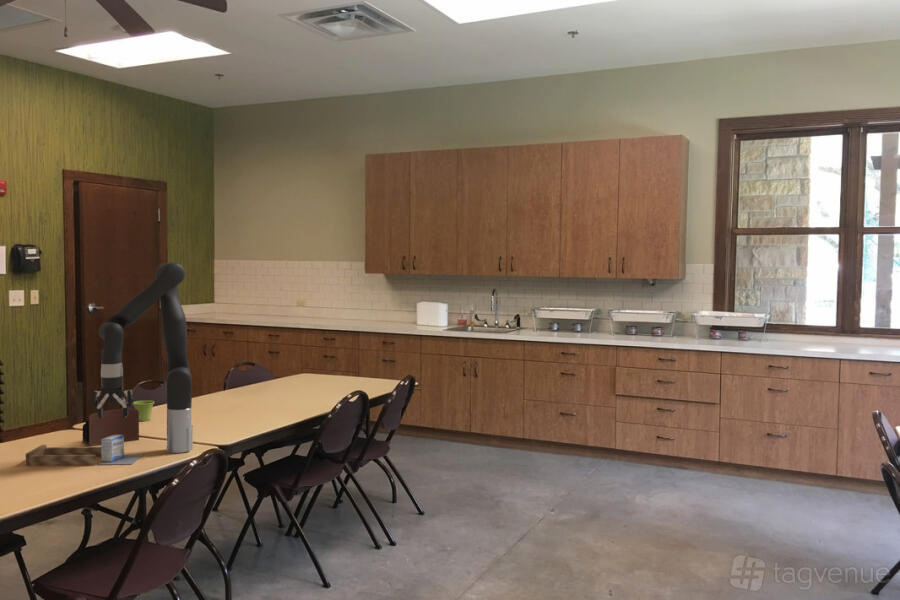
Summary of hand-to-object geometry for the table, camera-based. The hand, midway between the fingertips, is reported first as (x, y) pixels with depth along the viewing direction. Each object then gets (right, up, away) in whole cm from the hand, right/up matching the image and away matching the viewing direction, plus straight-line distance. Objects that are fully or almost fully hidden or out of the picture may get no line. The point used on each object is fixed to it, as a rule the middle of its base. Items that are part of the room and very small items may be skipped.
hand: (113, 417), depth 278 cm
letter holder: (-15, -15, +31) cm, 38 cm away
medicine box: (-1, -16, +1) cm, 16 cm away
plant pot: (-19, -13, +74) cm, 78 cm away
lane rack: (-17, -16, -1) cm, 23 cm away
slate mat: (+2, -16, +1) cm, 16 cm away
